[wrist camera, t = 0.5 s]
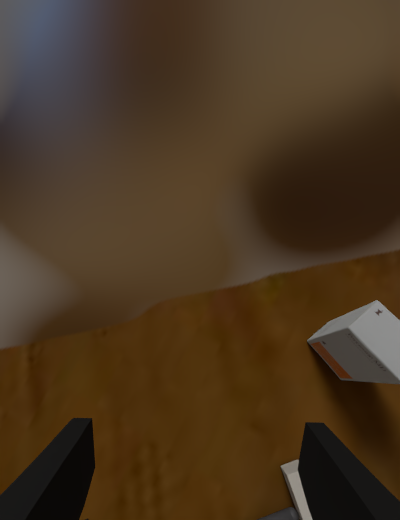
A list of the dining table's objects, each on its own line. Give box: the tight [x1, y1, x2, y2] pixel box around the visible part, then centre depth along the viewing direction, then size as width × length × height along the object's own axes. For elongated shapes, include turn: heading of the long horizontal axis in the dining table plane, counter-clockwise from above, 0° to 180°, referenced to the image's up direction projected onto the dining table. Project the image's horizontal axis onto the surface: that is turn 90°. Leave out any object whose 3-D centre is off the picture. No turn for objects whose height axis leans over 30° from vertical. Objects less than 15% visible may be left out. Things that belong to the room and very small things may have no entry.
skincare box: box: [307, 300, 400, 384], centre depth 29 cm, size 6×4×12 cm
